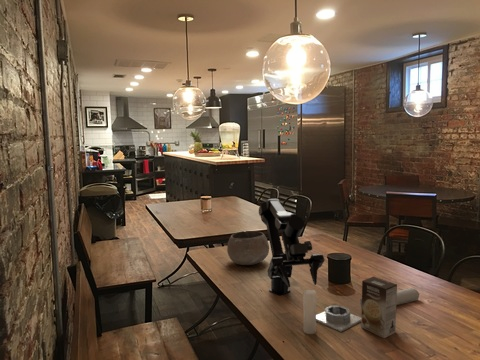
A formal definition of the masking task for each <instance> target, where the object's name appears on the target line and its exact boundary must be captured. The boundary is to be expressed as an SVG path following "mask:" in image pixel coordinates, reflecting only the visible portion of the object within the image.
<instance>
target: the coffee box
mask: <svg viewBox="0 0 480 360" xmlns="http://www.w3.org/2000/svg"><path fill="white" fill-rule="evenodd" d="M361 282H362V283H361V298H362V308H361V316H360V317H361V322H360V323H361V325H360V327H361V328H362V329H364V330H366V331H369V332H370V333H373V334H375V335H377V336H379V337H381V338H384V339H385V338H387V337H389V336H391V335H394V334H395V333H396V327H397V325H396V323H397V322H396V321H397V305H396V301H397V291H398V284H396V283H393V282H391V281H387V280H385V279H382V278H379V277H376V276H375V275H374V276H371V277H369V278H366V279H362V280H361Z"/></svg>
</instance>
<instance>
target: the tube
mask: <svg viewBox="0 0 480 360" xmlns="http://www.w3.org/2000/svg"><path fill="white" fill-rule="evenodd" d="M419 297H420V293H419V291H418V290H417V289H416V288H415V287H414V288H413V287H409V288H405V289H399V290H397V301H396V306H399V305H403V304H407V303H411V302H416V301H417V300H419ZM359 300H360V302H359V306H360V308H361V309H362V297H361V298H360V299H359Z"/></svg>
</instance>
